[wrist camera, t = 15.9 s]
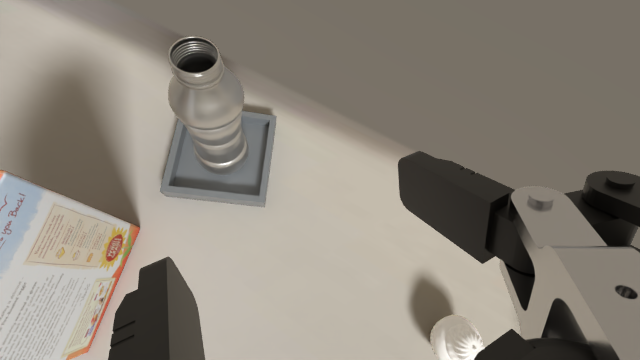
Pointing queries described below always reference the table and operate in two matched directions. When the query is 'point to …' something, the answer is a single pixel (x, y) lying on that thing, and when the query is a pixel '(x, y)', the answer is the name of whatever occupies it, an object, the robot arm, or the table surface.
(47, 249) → the cracker box
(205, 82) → the plastic bottle
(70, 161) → the table surface
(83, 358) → the table surface
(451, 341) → the white rounded piece
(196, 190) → the bottle tray
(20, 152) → the table surface
